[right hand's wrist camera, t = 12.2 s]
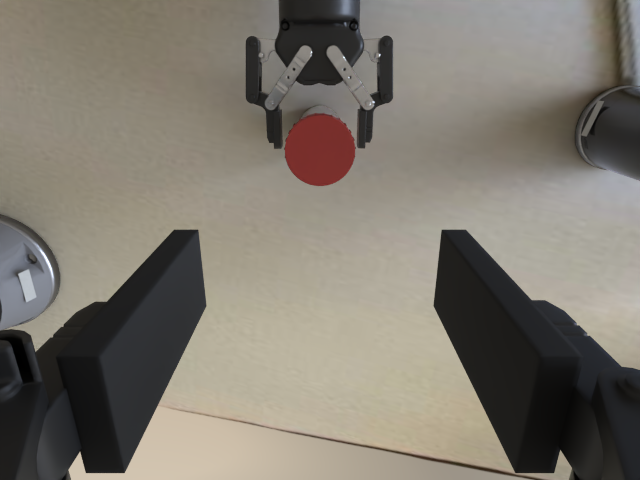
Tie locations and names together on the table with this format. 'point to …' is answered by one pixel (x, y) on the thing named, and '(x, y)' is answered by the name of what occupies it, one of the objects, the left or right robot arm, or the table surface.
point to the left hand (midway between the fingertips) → (319, 147)
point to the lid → (319, 149)
